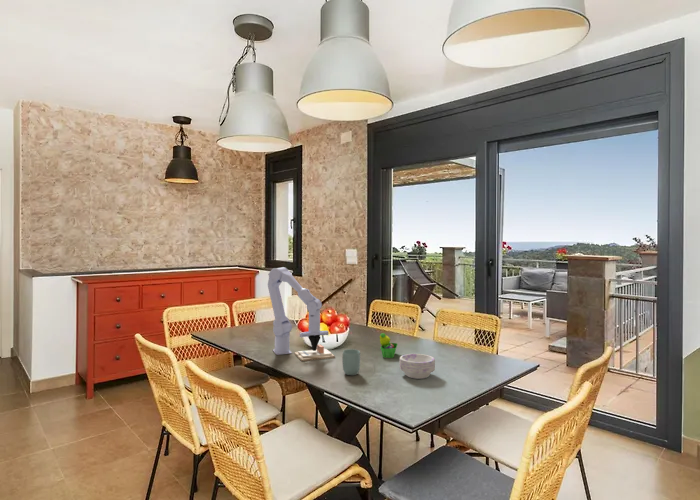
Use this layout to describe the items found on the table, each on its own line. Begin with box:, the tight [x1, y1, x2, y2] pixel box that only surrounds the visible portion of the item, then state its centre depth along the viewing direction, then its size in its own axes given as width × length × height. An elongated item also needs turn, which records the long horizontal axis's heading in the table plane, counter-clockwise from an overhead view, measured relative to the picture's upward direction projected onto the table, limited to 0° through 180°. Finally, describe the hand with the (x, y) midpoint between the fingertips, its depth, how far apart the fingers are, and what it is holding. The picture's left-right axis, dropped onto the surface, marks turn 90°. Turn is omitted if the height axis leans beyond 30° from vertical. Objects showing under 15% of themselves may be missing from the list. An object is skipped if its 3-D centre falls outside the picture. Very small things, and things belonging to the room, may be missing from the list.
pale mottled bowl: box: [399, 353, 436, 380], centre depth 182 cm, size 15×15×8 cm
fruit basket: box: [378, 332, 398, 359], centre depth 214 cm, size 11×9×11 cm
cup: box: [341, 348, 361, 376], centre depth 183 cm, size 8×8×10 cm
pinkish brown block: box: [316, 344, 333, 356], centre depth 213 cm, size 10×6×4 cm, turn 22°
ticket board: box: [293, 349, 336, 362], centre depth 211 cm, size 14×17×2 cm
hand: (314, 350), depth 211 cm, fingers closed
